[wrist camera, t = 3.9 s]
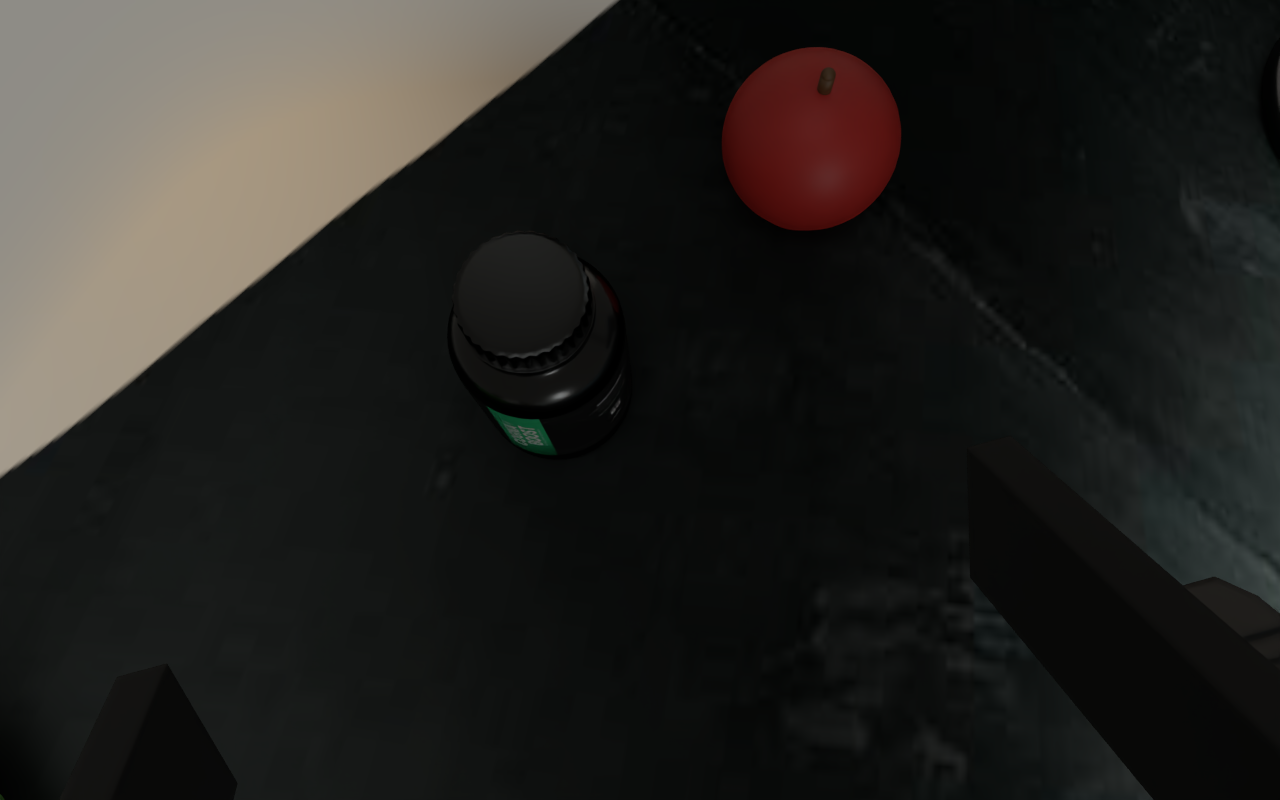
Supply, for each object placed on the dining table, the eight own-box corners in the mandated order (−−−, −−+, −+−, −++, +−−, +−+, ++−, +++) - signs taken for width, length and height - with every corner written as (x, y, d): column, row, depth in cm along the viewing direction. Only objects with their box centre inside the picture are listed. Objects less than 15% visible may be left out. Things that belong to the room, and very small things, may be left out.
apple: (763, 90, 47) (786, -42, 38) (905, 157, 45) (963, 36, 37) (688, 213, 45) (693, 105, 36) (834, 286, 44) (876, 192, 35)
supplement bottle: (555, 492, 41) (511, 429, 30) (458, 389, 43) (380, 290, 31) (663, 392, 42) (661, 294, 31) (565, 295, 44) (529, 166, 32)
